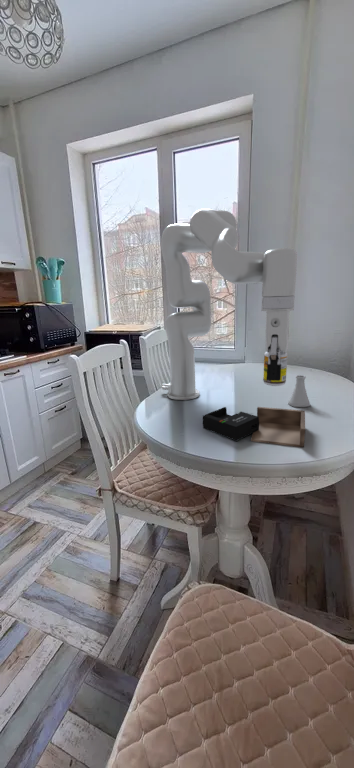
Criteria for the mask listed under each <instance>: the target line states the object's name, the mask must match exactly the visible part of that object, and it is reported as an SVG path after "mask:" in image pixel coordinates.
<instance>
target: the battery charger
mask: <svg viewBox="0 0 354 768" xmlns="http://www.w3.org/2000/svg"><path fill="white" fill-rule="evenodd" d="M202 428H203V429H204V430H207V431H210V432H213V433H215V434H218V435H220V436H222V437H225V438H228V439H231V440H233V441H235V442H237V441H239V440H241V439H243V438H245V437H247V436H249V435H251V434H253V432H255V431H257V430H259V417H258V416H257V415H254V414H252V413H251V414H250V413H248V412H247V413H246V412H244V411H239V412H237V413H234V414H231V415H230V414H228V411H227V407H226V406H223V407H222V408H219V409H216V410H213V411H211V412H209V413H206V414H203V415H202Z"/></svg>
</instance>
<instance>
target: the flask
mask: <svg viewBox="0 0 354 768" xmlns="http://www.w3.org/2000/svg"><path fill="white" fill-rule="evenodd" d="M306 378H307V377H306V375H303V374H301V375H300V374H298V375H297V374H296V375H295V379H296V382H295V385H294V388H293V390H292V393H291V395H290V398H289V400H288V405H289V406H291V407H295V408H306V407H308V408H309V407H310V405H311V404H310V399H309V396H308V393H307V389H306V383H305V379H306Z"/></svg>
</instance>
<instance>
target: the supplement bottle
mask: <svg viewBox="0 0 354 768" xmlns="http://www.w3.org/2000/svg"><path fill="white" fill-rule="evenodd" d="M268 348H269V347H268ZM277 352H279V350H277ZM263 356H264V357H263V380H262V381H263V383H264V384H265V385H267V386H271V387H280V386H283V385H285V384H286V382H287V369H288V367H287V366H288V353H287V352H286V353H284V351H281V356H280V364H281V376H280V380H279V381H277V380H267V364H268V356H269V352H267V351H266V350H265V352H264V354H263Z"/></svg>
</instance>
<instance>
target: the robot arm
mask: <svg viewBox="0 0 354 768" xmlns="http://www.w3.org/2000/svg"><path fill="white" fill-rule="evenodd" d="M237 225H238V224H237V219H236V218H235V215H234V214H233V213H232V212H230V211H228V210H220V209H211V208H200V209H198V210H196V211H195V212H194V213H193V214H192V215H191V217H190V218H189V223H174V224H173V223H172V224H169V225H168V226H166V227H165V228H164V230H163V232H162V234H161V237H160V238H161V239H160V249H161V251H160V252H161V256H162V258H163V262H164V268H165V277H166V279H165V280H166V293H167V301H168V305H169V306H170V307H172V308H175V309H188V308H192V311H190V310H189V311H188V310H187V311H176V312H174V313H173V312H172V313H170V314H169V315H167V317H166V319H165V320H164V329H165V333H166V338H167V344H168V357H169V359H168V360H169V373H170V374H169V375H170V376H169V377H170V383H162V384H161V388H162V389H161V390H164V391H165V390H166V391H167V393H166V395H167V398H169V399H172V400H176V401H189V400H194V399H196V398H198V397H199V396H200V393H201V392H200V390H198V389H196V362H195V361H196V360H195V359H196V358H195V348H194V346H193V344H192V342H191V341H190V338H196V337H202V336H206V335H207V334H209V332H211V331H210V330H211V327H212V311H211V310H212V308H211V307H212V305H211V303H212V302H211V291H210V287H209V286H208V284H207V283H206V282H205V281H203V280H199V279H198V280H197V279H191V267H190V264H189V261H188V260H187V258H186V257H185V255H184V254H183V253H190V254H191V253H193V254H194V253H195V254H196V253H198V254H206V253H210V252H211V253H210V257H211V263H212V266H213V268H214V269H215V271H216V273H218V274H219V275H220V276H221V277H223V279H225V280H226V281H228V282H229V283H231V284H234V285H248V284H249V285H250V284H251V285H252V284H253V285H259V284H262V286H261V312H265V352H266V351H267V352H269V356H268V364H267V380H277V381H279V380H280V376H281V364H280V356H281V351H284V353H287V352H288V349H289V337H290V335H289V332H290V311H294V310H295V301H296V300H295V297H296V285H297V284H296V282H297V265H298V253H297V251H296V249H294V248H293V247H292V248H291V247H289V248H288V247H282V248H273V249H272V248H271V249H269V250H267V251H266V252H262V251H260V252H259V251H258V252H257V251H239V250H237V246H238V243H239V239H240V238H239V237H240V236H239V232H238V230H237V228H238V226H237ZM268 347H269V348H268ZM277 350H279V352H277Z"/></svg>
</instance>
